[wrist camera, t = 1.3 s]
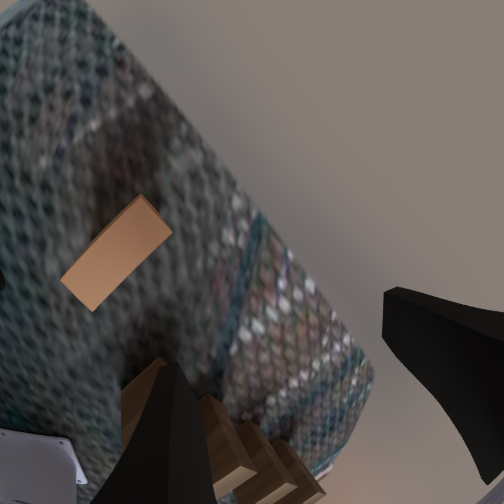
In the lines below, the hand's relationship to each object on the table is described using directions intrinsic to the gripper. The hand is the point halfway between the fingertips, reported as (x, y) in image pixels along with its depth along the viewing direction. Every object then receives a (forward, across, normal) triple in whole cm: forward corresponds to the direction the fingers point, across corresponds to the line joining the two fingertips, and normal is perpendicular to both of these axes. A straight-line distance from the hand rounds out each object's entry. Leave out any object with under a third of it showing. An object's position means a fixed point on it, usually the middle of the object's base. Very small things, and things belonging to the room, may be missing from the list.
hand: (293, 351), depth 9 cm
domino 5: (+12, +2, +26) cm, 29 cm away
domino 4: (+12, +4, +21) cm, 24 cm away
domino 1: (+14, +7, -2) cm, 15 cm away
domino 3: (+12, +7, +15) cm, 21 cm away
